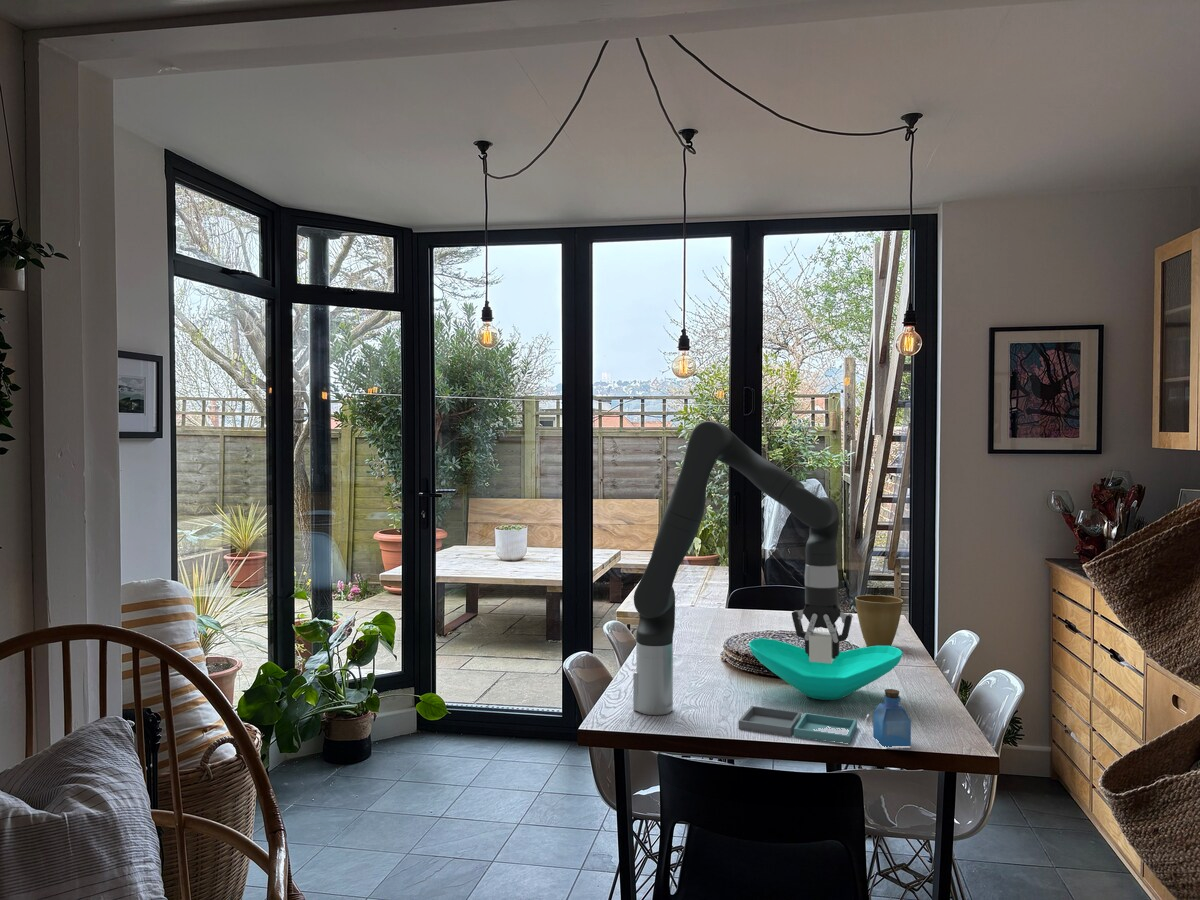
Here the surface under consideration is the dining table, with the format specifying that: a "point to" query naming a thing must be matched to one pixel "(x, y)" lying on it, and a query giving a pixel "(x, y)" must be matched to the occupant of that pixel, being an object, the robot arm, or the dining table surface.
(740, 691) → the dining table surface
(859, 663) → the table top decor
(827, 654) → the stone block
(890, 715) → the perfume bottle
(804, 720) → the teal tray
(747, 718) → the charcoal tray
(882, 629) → the plant pot
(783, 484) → the robot arm
